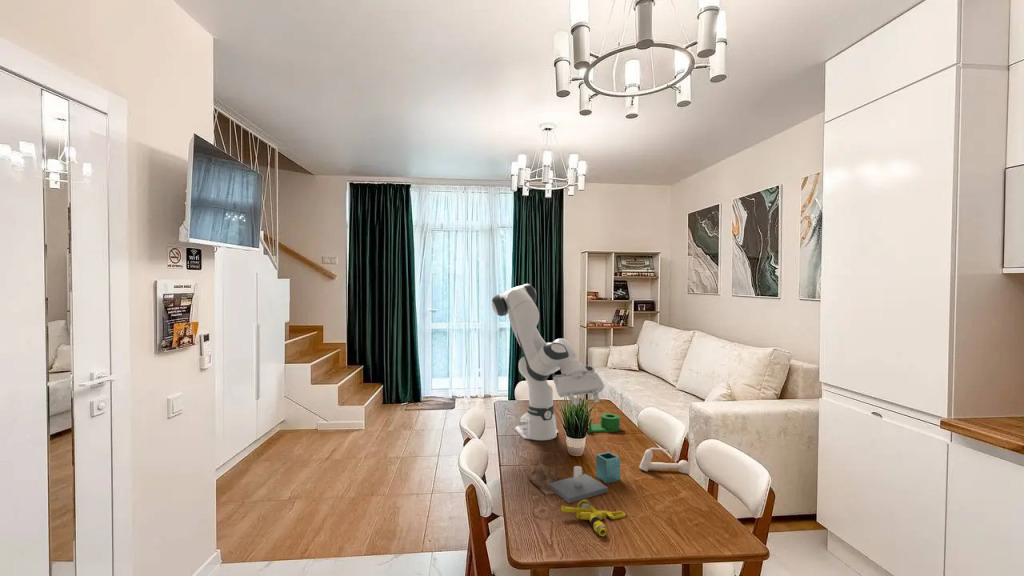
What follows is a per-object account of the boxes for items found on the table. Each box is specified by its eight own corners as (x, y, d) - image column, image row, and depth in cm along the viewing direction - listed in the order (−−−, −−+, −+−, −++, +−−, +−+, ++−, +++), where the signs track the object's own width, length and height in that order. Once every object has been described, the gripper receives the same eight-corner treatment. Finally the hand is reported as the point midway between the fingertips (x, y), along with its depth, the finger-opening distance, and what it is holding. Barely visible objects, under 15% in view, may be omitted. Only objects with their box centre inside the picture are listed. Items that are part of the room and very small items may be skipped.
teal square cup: (596, 476, 155) (596, 454, 155) (609, 473, 157) (609, 451, 157) (606, 483, 149) (606, 460, 149) (620, 480, 152) (620, 457, 152)
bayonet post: (548, 487, 146) (548, 465, 146) (585, 478, 153) (585, 457, 153) (569, 503, 135) (569, 479, 135) (607, 491, 143) (607, 469, 143)
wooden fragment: (563, 496, 140) (563, 492, 140) (530, 496, 141) (530, 492, 141) (556, 464, 166) (556, 461, 166) (528, 464, 166) (528, 462, 166)
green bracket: (615, 425, 213) (615, 413, 214) (622, 431, 205) (622, 418, 205) (580, 427, 211) (580, 414, 211) (586, 433, 202) (586, 419, 203)
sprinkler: (576, 524, 115) (558, 497, 129) (574, 539, 115) (556, 510, 129) (641, 526, 119) (616, 499, 133) (639, 540, 119) (615, 511, 133)
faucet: (686, 486, 157) (695, 461, 157) (640, 469, 158) (649, 444, 158) (682, 481, 161) (691, 457, 161) (638, 465, 162) (646, 440, 162)
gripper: (554, 370, 167) (567, 401, 158) (597, 366, 176) (612, 395, 167) (548, 380, 171) (561, 410, 162) (590, 375, 180) (605, 404, 171)
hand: (587, 402), depth 164 cm, fingers open, 8 cm apart
